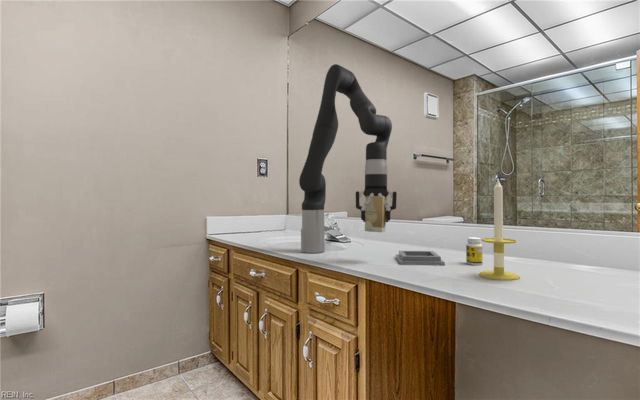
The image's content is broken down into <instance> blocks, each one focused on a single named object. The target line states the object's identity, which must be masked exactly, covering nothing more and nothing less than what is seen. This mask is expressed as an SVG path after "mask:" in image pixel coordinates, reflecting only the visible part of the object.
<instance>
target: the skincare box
mask: <svg viewBox="0 0 640 400" xmlns="http://www.w3.org/2000/svg"><path fill="white" fill-rule="evenodd" d="M368 197H369V196H367V197H365V201H366V200H367V199H368ZM384 199H385V200H386V201H387V200H388V196H387V197H386V198H385V197H384V196H373V198H372V199H371V201H370V202H369V204H368V205H367V207H366V208H365V222H364V232H368V233H369V232H370V233H384V232H386V225H387V224H386V223H387V222H386V211H387V209H386V207H385V206H384ZM369 200H370V199H369ZM367 202H368V201H367Z"/></svg>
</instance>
